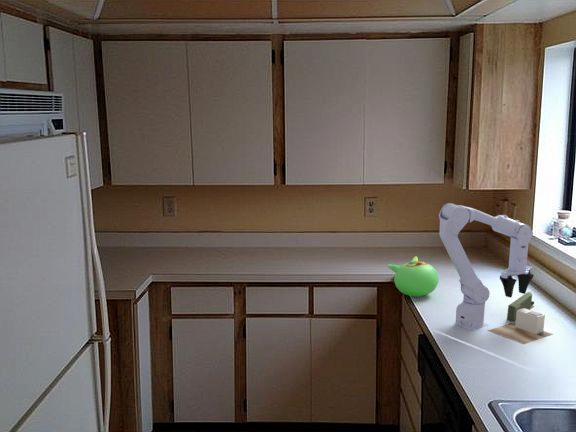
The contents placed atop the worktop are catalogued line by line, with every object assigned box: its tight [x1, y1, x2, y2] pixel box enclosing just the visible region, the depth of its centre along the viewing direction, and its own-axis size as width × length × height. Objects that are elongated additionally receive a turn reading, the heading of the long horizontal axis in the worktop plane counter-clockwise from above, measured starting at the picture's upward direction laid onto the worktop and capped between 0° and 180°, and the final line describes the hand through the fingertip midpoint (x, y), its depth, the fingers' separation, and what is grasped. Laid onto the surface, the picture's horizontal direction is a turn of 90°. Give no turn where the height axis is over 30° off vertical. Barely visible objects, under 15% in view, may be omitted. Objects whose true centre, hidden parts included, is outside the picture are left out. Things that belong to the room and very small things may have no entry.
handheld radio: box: [506, 291, 535, 323], centre depth 220 cm, size 7×3×25 cm
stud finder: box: [515, 308, 546, 334], centre depth 203 cm, size 4×8×6 cm, turn 34°
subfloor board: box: [486, 321, 554, 345], centre depth 201 cm, size 16×14×1 cm
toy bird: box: [386, 255, 439, 298], centre depth 240 cm, size 18×17×15 cm
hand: (515, 294), depth 209 cm, fingers open, 7 cm apart
